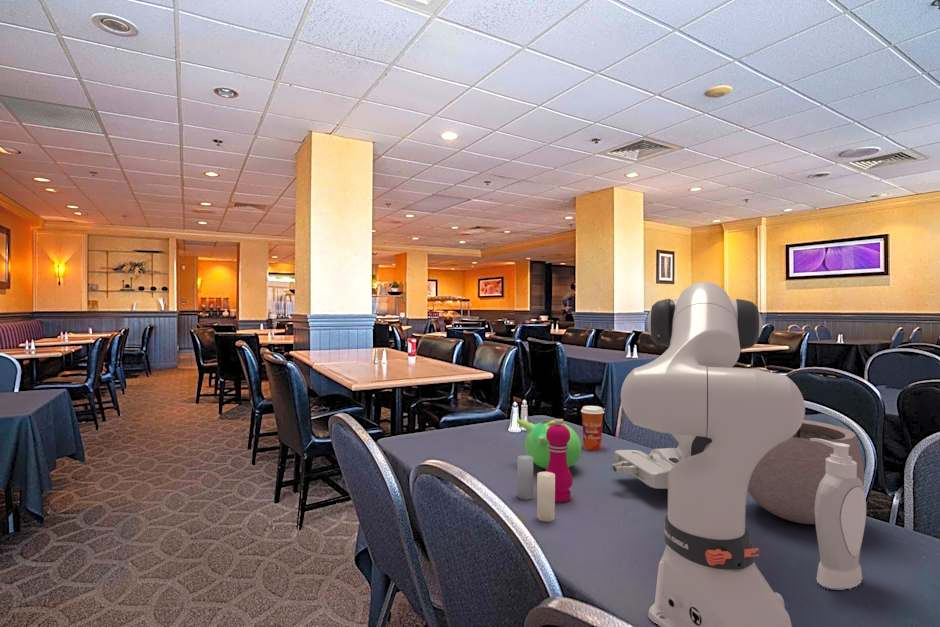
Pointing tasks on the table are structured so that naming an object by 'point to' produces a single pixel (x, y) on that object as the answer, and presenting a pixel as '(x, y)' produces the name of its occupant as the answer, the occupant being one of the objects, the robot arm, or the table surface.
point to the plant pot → (799, 470)
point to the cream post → (546, 496)
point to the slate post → (525, 477)
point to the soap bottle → (839, 519)
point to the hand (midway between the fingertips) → (614, 469)
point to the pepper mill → (559, 460)
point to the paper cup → (592, 427)
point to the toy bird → (539, 444)
